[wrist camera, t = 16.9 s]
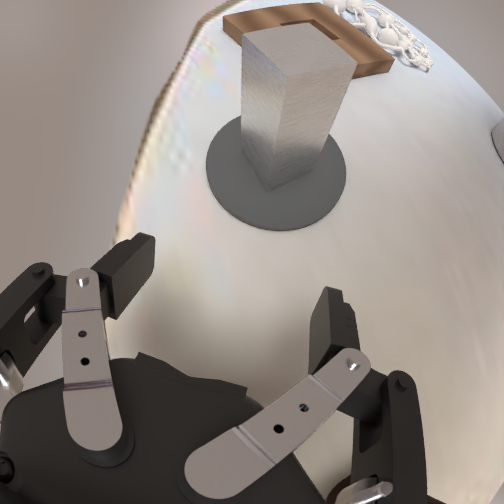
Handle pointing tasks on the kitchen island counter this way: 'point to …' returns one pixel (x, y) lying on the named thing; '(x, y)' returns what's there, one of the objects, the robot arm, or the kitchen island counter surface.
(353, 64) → the steel peg
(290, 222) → the rubber pad
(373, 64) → the socket block
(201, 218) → the kitchen island counter surface
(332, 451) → the kitchen island counter surface
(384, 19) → the tangled rod sculpture
